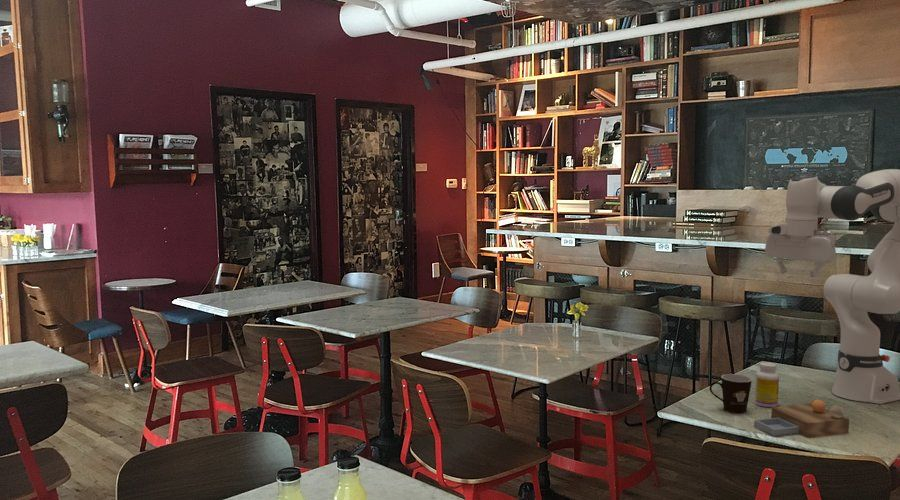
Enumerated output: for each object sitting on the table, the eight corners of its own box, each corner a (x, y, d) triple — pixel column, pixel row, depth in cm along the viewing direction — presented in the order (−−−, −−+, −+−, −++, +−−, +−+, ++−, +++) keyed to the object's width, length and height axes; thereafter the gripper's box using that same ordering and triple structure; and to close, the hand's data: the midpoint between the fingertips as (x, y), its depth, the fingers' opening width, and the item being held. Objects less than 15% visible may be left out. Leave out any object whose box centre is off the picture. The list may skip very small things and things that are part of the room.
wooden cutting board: (810, 416, 216) (811, 403, 216) (848, 432, 203) (849, 418, 203) (770, 420, 212) (771, 407, 212) (806, 437, 199) (807, 423, 199)
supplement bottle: (779, 408, 223) (782, 367, 222) (756, 407, 225) (758, 366, 223) (774, 402, 230) (776, 362, 229) (752, 400, 231) (754, 361, 230)
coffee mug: (750, 408, 224) (752, 376, 223) (749, 416, 216) (751, 383, 215) (710, 402, 229) (712, 371, 228) (708, 411, 221) (709, 378, 220)
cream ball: (836, 415, 205) (837, 402, 205) (846, 419, 202) (847, 406, 202) (826, 416, 204) (826, 404, 204) (836, 420, 201) (836, 408, 201)
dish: (778, 424, 210) (778, 417, 209) (799, 434, 202) (799, 427, 202) (753, 426, 207) (754, 420, 207) (774, 436, 200) (774, 429, 199)
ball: (818, 409, 210) (819, 397, 210) (828, 413, 207) (829, 401, 207) (808, 410, 209) (809, 398, 209) (817, 414, 206) (818, 402, 206)
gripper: (841, 231, 212) (838, 278, 213) (774, 226, 228) (772, 270, 230) (830, 232, 208) (827, 280, 210) (763, 227, 225) (761, 272, 226)
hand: (798, 275), depth 220 cm, fingers open, 8 cm apart
